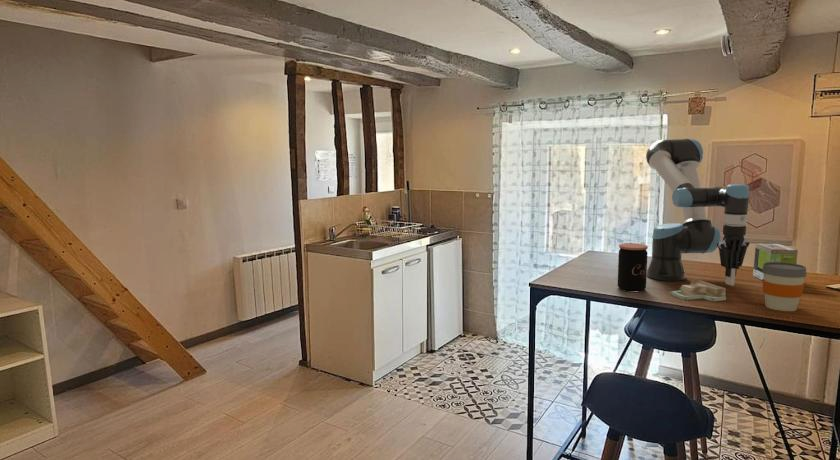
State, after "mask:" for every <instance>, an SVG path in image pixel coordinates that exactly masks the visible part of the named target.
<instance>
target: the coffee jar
mask: <svg viewBox="0 0 840 460" xmlns="http://www.w3.org/2000/svg"><path fill="white" fill-rule="evenodd" d="M618 247H619V250H618V261H617V288H620V289H621V290H620V289H619V290H620V291H623V290H625V291H624V292H627V291H642V292H644V291H645V290H646V287H647V277H648V276H647V270H648V251H647V249H648V247H649V246H648V245H646V244H644V243H643V244H642V243H635V242H632V243H629V242H627V243H624V242H623V243H620V244H619V245H618ZM643 290H644V291H643Z"/></svg>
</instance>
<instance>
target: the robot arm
mask: <svg viewBox="0 0 840 460" xmlns="http://www.w3.org/2000/svg"><path fill="white" fill-rule="evenodd" d="M703 149H704V148H703V146H702V144H701V143H700V141H698V140H696V139H693V138H681V139H680V138H679V139H677V138H676V139H675V138H674V139H673V138H672V139H665V138H664V139H659V140H657V141H655V142H653V143H652V144H651V145H650V146H649V147H648V149H647V150H646V154H645V160H646V162H647V165H648V166H649V167H650V168H651V169H652V170H655V171H656V172H657V174H658V175H659V176H660V177H661V178H662V180H663V181H664V183H665V184H666V185H667V187H668V188H669V189H670V191H671V192H672V196H671V200H672V204H673V205H674V206H675V207H677V208H681V209H682V215H683V220H684V221H683V222H682V223H677V222H676V223H673V222H672V223H663V224H659V225H656V226H654V228H653V233H652V244H651V245H652V251H651V259H650V261H649V266H648V267H647V276H646V277H647V278H649V277H650V279H652V278H653V279H652V280H658V281H669V282H679V281H684V280H685V279H686V272H685V269H684V266H683V263H682V255H683V254H710V253H713V252H715V251H716V250H717V249H718V253H719V254H718V255H719V260H720V266H721V267H723V268H725V272H724V273H725V274H724V275H725V276H724V277H725V285H728V286H735V282H736V280H735V279H736V276H737V273H738V272H737V271H738V270H739V269H740V267H742V266H743V263H744V260H745V256H746V253H747V250H748V248H749V245H750V242H748V241H746V240H745V236H746V234H747V233H746V232H747V226H746V225H747V221H748V210H749V201H750V186H749V184H742V183H741V184H740V183H730V184H727V185H726V187H723V186H713V187H701V184H700V179H699V175H698V171H697V169H698V168H699V166H700V164H701V162H702V160H703V158H704V150H703ZM707 207H709V208H711V207H713V208H714V207H721V208H724V212H723V213H724V214H723V224H724V225H723V227H722V234H723V238H722V241H721V232H720V229H719V228H718V227H717V226H715V225H713V223H712V220H711V219H709V218H707V215H706V210H705V208H707Z"/></svg>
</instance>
